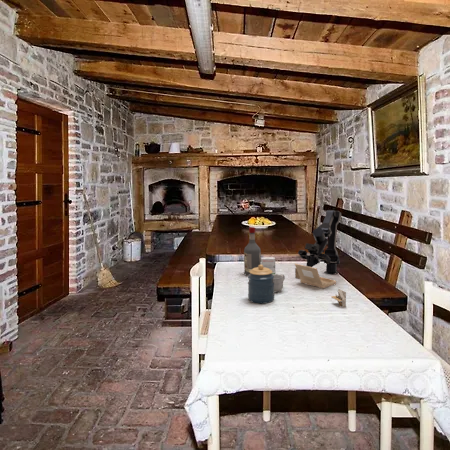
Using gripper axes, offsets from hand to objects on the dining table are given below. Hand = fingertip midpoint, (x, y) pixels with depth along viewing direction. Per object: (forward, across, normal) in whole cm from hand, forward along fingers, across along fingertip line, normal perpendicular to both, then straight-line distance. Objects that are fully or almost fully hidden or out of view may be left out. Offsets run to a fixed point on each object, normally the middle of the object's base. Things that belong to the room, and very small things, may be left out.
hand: (307, 269), depth 186 cm
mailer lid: (+1, 0, +3) cm, 3 cm away
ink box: (+8, -29, +6) cm, 31 cm away
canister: (+30, -2, -17) cm, 35 cm away
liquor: (+11, -39, +4) cm, 41 cm away
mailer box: (0, 0, +14) cm, 14 cm away
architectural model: (+16, +29, -1) cm, 33 cm away
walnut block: (0, -14, +15) cm, 20 cm away
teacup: (+19, -7, -5) cm, 21 cm away
